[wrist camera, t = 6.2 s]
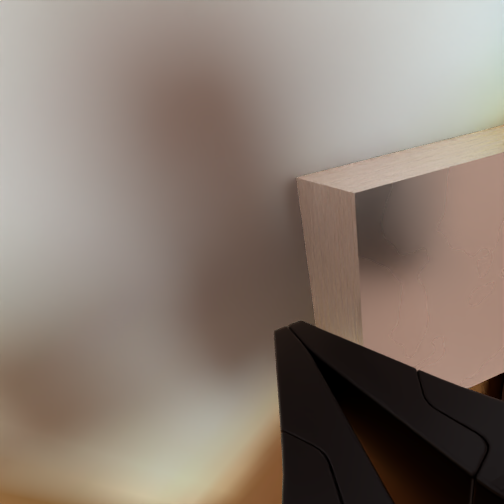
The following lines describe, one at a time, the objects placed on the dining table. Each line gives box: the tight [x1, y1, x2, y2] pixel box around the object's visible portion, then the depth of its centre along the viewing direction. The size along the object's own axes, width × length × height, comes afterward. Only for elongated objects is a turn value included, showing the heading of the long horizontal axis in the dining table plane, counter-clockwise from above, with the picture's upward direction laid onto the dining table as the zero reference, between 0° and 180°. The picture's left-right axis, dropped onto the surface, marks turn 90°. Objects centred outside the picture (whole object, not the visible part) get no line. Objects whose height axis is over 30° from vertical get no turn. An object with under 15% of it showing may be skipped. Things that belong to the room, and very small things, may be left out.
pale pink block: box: [296, 125, 504, 389], centre depth 10 cm, size 7×11×4 cm, turn 101°
